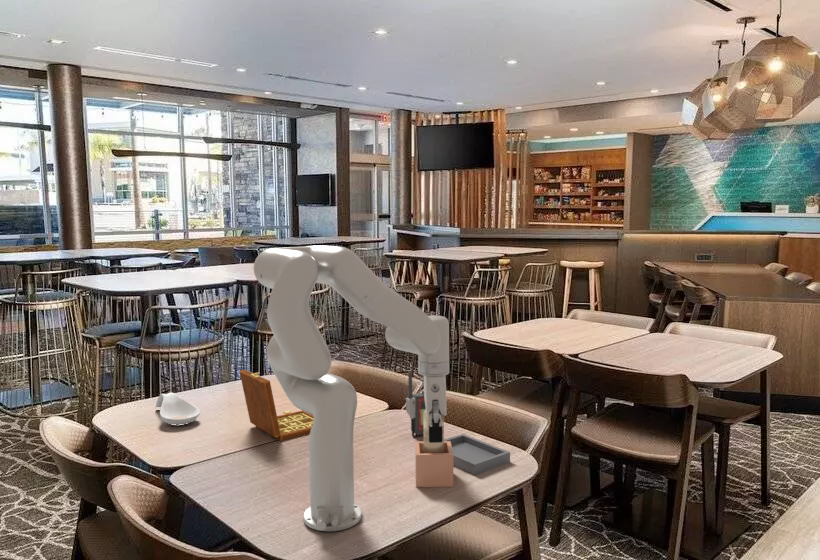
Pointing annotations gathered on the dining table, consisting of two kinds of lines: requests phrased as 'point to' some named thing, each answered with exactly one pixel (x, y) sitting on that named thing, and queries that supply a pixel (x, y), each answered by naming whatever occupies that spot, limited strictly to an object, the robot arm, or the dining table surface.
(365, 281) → the robot arm
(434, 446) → the birch dowel
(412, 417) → the walkie-talkie
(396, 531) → the dining table surface
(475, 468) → the charcoal tray
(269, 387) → the game set
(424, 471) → the terracotta box
